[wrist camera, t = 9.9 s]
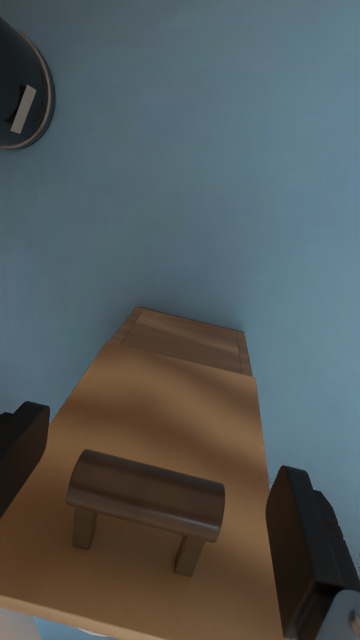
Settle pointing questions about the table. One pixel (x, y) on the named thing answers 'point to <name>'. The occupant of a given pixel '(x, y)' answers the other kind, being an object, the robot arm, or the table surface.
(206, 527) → the gift box lid
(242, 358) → the gift box
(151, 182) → the table surface
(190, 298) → the table surface
